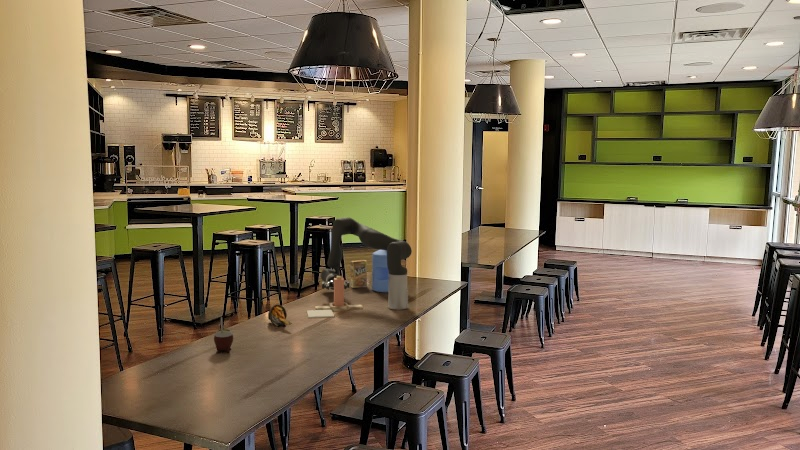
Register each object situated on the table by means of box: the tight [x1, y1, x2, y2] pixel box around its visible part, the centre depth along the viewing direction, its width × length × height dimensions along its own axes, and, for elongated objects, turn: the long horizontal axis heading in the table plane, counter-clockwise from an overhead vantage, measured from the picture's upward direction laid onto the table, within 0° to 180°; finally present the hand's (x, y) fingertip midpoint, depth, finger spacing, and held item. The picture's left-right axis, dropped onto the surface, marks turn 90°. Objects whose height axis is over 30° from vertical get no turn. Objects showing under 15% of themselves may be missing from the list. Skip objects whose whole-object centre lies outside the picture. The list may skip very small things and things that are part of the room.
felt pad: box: [306, 309, 335, 319], centre depth 298 cm, size 12×12×1 cm
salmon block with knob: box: [333, 275, 345, 306], centre depth 309 cm, size 4×4×16 cm
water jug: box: [371, 249, 389, 293], centre depth 353 cm, size 16×16×28 cm
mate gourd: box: [213, 316, 234, 354], centre depth 239 cm, size 8×8×15 cm
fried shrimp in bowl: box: [267, 303, 293, 327], centre depth 278 cm, size 9×11×18 cm
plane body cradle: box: [314, 301, 364, 312], centre depth 310 cm, size 23×9×2 cm, turn 102°
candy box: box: [350, 259, 368, 289], centre depth 360 cm, size 9×4×15 cm, turn 118°
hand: (336, 287), depth 318 cm, fingers open, 8 cm apart
